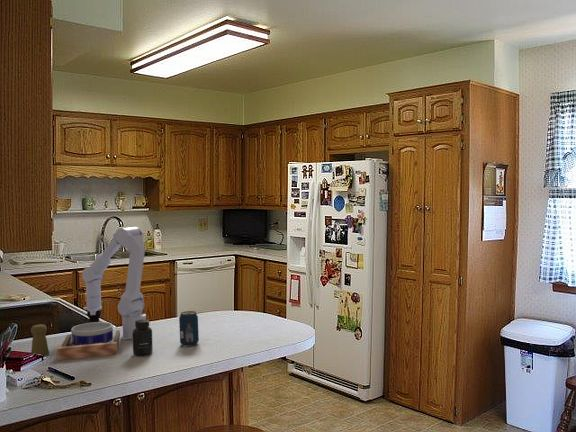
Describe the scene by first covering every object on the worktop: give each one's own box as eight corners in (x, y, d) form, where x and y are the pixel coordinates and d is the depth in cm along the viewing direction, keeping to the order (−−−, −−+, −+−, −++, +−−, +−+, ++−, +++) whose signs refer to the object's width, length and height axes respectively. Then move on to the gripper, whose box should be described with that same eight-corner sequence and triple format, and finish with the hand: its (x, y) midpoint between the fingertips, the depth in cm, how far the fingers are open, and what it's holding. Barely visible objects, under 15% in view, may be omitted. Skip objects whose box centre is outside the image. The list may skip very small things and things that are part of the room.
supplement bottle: (142, 358, 192) (141, 324, 191) (129, 355, 196) (127, 321, 195) (157, 352, 198) (155, 319, 197) (143, 350, 201) (142, 317, 201)
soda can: (191, 340, 213) (190, 309, 212) (202, 343, 208) (201, 312, 207) (176, 344, 208) (175, 313, 207) (187, 347, 203) (185, 315, 202)
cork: (42, 357, 195) (40, 327, 195) (27, 357, 197) (25, 326, 196) (52, 352, 201) (51, 323, 201) (38, 352, 203) (36, 322, 202)
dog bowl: (119, 341, 215) (118, 326, 214) (79, 349, 205) (78, 333, 205) (104, 334, 227) (104, 319, 226) (66, 341, 217) (65, 326, 217)
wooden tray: (119, 334, 224) (119, 325, 224) (117, 354, 197) (116, 343, 197) (67, 339, 219) (67, 329, 219) (57, 360, 192) (56, 348, 192)
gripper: (85, 293, 233) (86, 325, 234) (81, 300, 219) (83, 333, 220) (102, 292, 235) (103, 324, 236) (100, 298, 221) (101, 332, 222)
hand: (95, 328), depth 228 cm, fingers closed
